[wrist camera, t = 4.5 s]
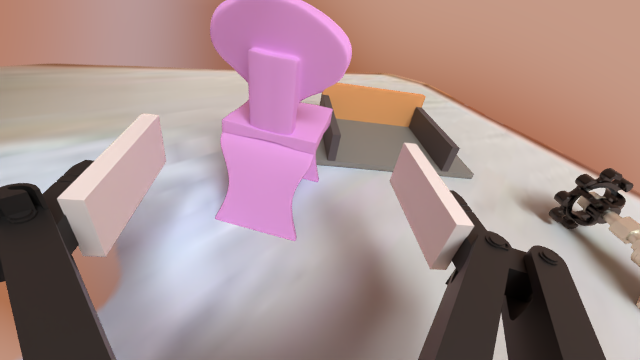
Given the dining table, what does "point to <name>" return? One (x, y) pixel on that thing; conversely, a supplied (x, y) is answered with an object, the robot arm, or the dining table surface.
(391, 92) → the grey and orange tray
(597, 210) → the valve
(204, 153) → the dining table surface
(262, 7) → the toy chair
